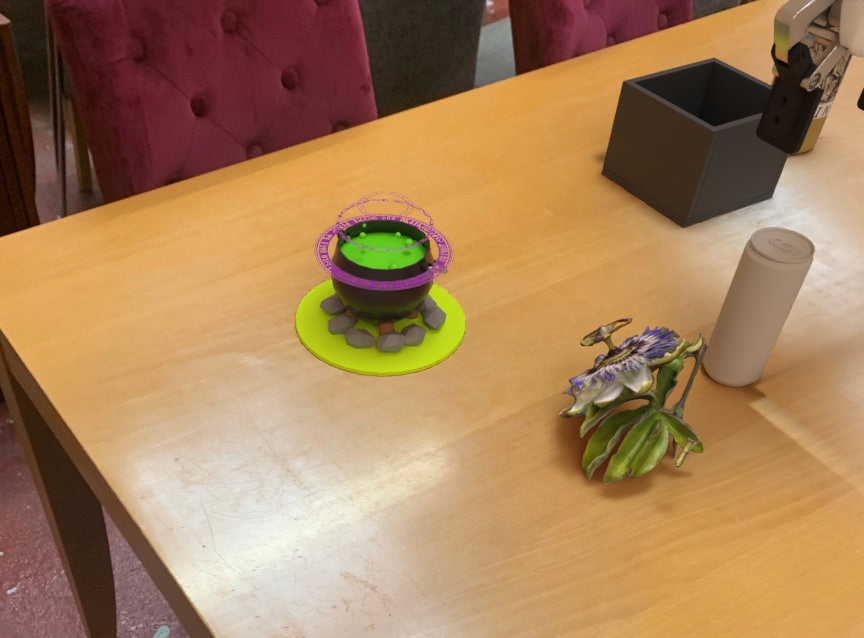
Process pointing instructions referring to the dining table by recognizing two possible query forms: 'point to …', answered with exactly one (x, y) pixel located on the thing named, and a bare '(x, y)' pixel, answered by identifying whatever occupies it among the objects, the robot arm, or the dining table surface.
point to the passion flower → (631, 380)
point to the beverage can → (757, 305)
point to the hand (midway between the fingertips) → (827, 129)
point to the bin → (693, 141)
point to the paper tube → (824, 94)
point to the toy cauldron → (381, 299)
